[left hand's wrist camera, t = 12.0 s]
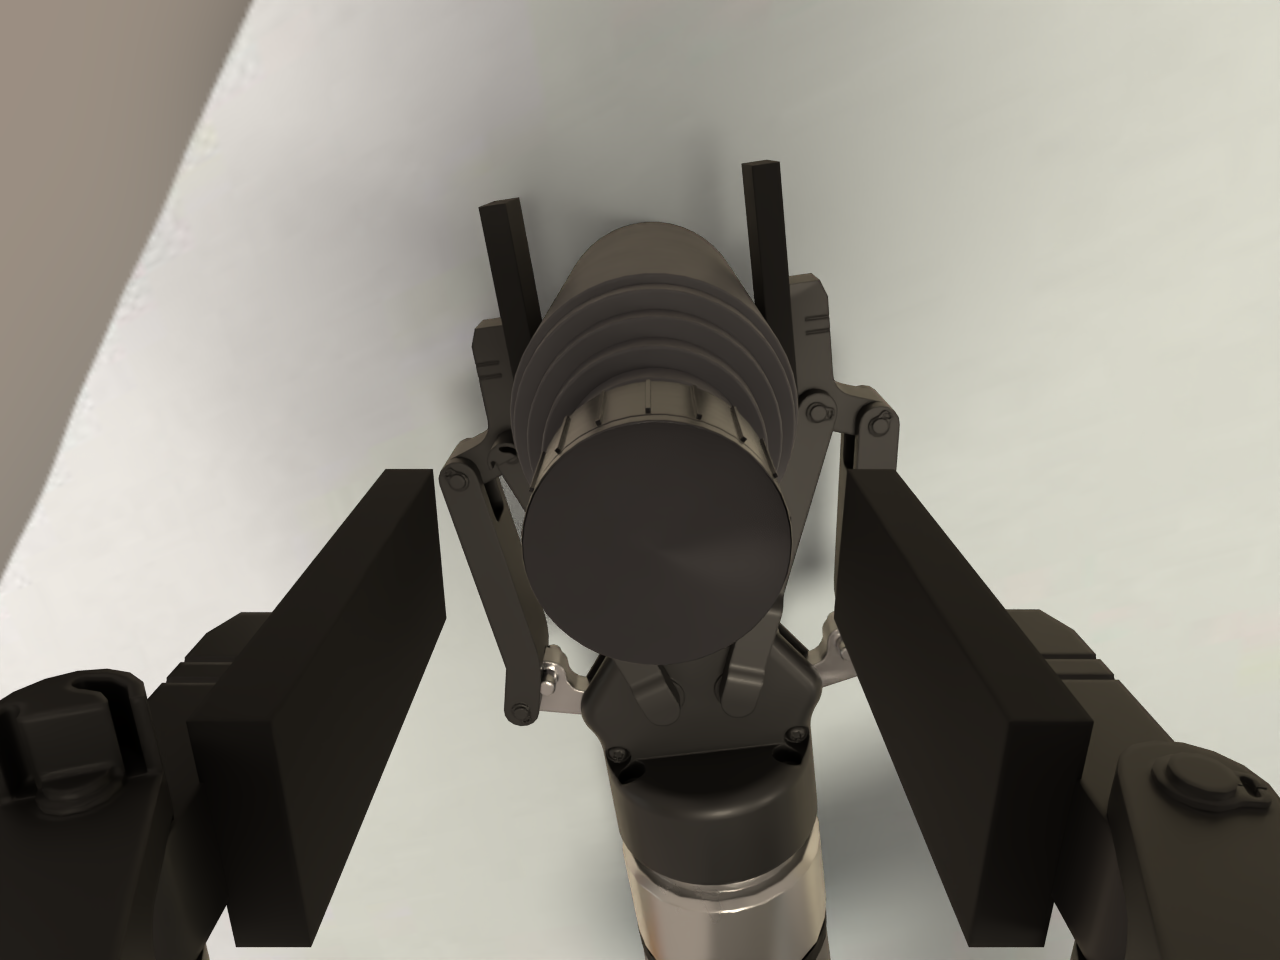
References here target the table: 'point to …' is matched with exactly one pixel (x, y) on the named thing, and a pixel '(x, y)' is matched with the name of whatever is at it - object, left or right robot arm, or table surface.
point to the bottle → (652, 339)
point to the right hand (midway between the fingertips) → (628, 183)
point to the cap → (656, 525)
